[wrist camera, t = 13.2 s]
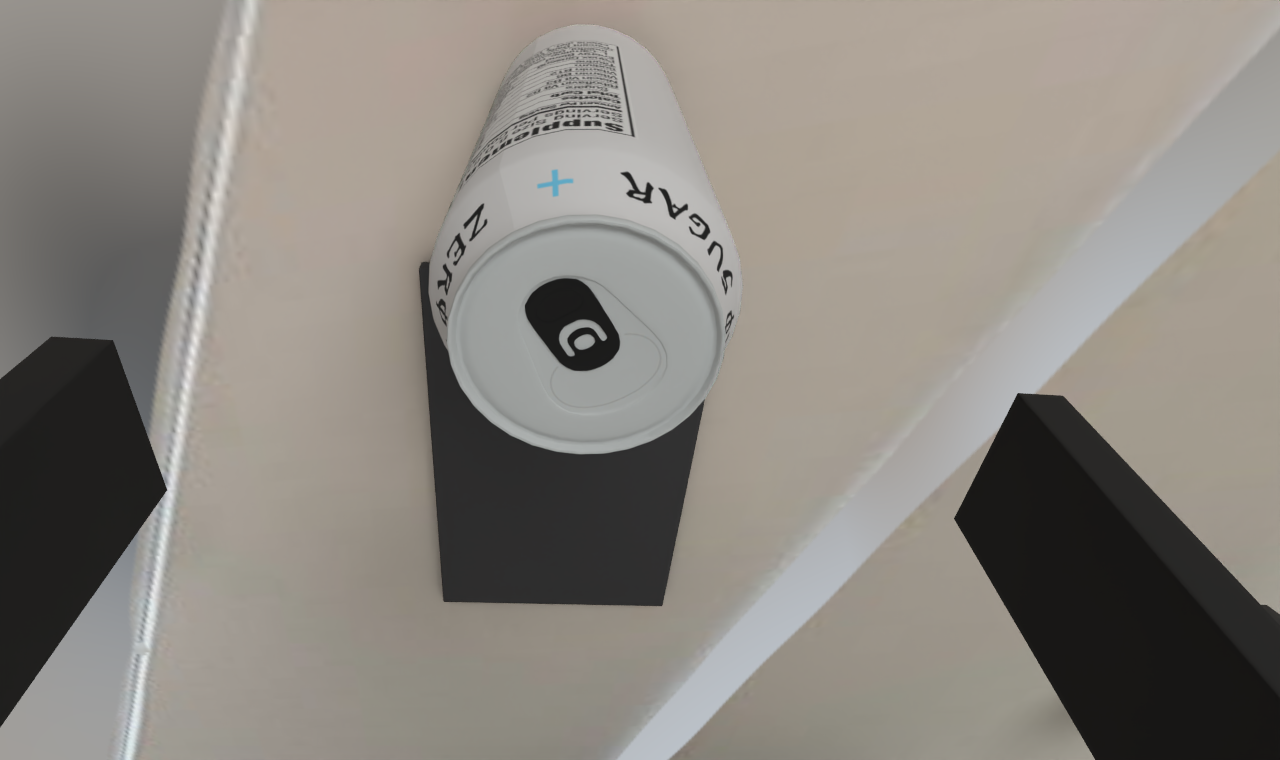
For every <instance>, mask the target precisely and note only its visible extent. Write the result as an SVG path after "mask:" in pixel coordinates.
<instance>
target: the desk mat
mask: <svg viewBox="0 0 1280 760" xmlns="http://www.w3.org/2000/svg"><path fill="white" fill-rule="evenodd" d="M429 266H430V263H429V262H422V263H421V266H420V268H419V275H420V288H421V302H422V316H423V329H424V343H425V356H426V370H427V383H428V397H429V410H430V424H431V437H432V451H433V465H434V478H435V492H436V505H437V519H438V532H439V546H440V559H441V573H442V586H443V600H444V602H483V603H535V604H586V605H637V606H662V605H663V600H664V595H665V590H666V585H667V580H668V575H669V571H670V566H671V561H672V556H673V551H674V546H675V541H676V537H677V532H678V527H679V522H680V517H681V512H682V508H683V503H684V498H685V493H686V488H687V483H688V478H689V474H690V469H691V464H692V459H693V454H694V449H695V444H696V440H697V435H698V430H699V425H700V420H701V415H702V410H703V406H704V401H705V399H704V400H703V401H702V403H701V404H700V405H699V406H698V407H697V408H696V409H695V411H694V412H693V413H692V414H691V415H690V416H689V417H688V418H686V419H685V420H684V421H683V422H681V423H680V424H679V425H677V426H676V427H675V428H674V429H672V430H671V431H669V432H667V433H665V434H663V435H662V436H660V437H658V438H656V439H654V440H652V441H650V442H647V443H644V444H642V445H639V446H636V447H633V448H630V449H626V450H621V451H615V452H610V453H604V454H573V453H564V452H556V451H552V450H549V449H545V448H541V447H537V446H534V445H531V444H529V443H527V442H524V441H522V440H520V439H518V438H515V437H513V436H511V435H509V434H508V433H506V432H505V431H503V430H502V429H500V428H499V427H497V426H496V425H494V424H493V423H491V422H490V421H489V420H488V419H487V418H486V417H485V416H484V415H483V414H482V413H481V412H480V411H479V410H478V409H477V408H476V407H475V406H474V405H473V404H472V403H471V401H470V400H469V398H468V397H467V395H466V394H465V393H464V391H463V390H462V388H461V387H460V385H459V383H458V380H457V378H456V376H455V373H454V371H453V369H452V366H451V363H450V357H449V352H448V350H447V348H446V347H445V345H444V343H443V340H442V338H441V336H440V333H439V331H438V329H437V326H436V324H435V322H434V319H433V314H432V308H431V303H430V298H429Z"/></svg>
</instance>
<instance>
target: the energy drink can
mask: <svg viewBox="0 0 1280 760" xmlns="http://www.w3.org/2000/svg"><path fill="white" fill-rule="evenodd" d="M742 289H743V281H742V273H741V265H740V257H739V254H738V252H737V249H736V246H735V243H734V240H733V237H732V235H731V232H730V229H729V227H728V224H727V222H726V219H725V217H724V215H723V212H722V210H721V207H720V205H719V202H718V200H717V197H716V195H715V193H714V190H713V188H712V185H711V183H710V180H709V178H708V175H707V173H706V170H705V168H704V166H703V163H702V161H701V158H700V156H699V153H698V151H697V148H696V146H695V144H694V141H693V139H692V136H691V134H690V131H689V129H688V126H687V124H686V122H685V119H684V117H683V114H682V112H681V109H680V107H679V104H678V102H677V100H676V97H675V95H674V92H673V90H672V87H671V85H670V82H669V80H668V78H667V76H666V74H665V73H664V71H663V69H662V68H661V66H660V64H659V63H658V61H657V60H656V59H655V58H654V57H653V56H652V55H651V54H650V52H649V51H648V50H647V49H646V48H645V47H644V46H642V45H641V44H639V43H638V42H637V41H635V40H634V39H633V38H631V37H630V36H628V35H625V34H623V33H621V32H619V31H617V30H614V29H612V28H607V27H603V26H598V25H571V26H566V27H562V28H557V29H555V30H552V31H550V32H548V33H546V34H544V35H542V36H540V37H538V38H537V39H536V40H534V41H533V42H532V43H530V44H529V45H528V46H526V47H525V48H524V49H523V50H522V51H521V53H520V54H519V55H518V56H517V57H516V59H515V60H514V61H513V62H512V64H511V66H510V68H509V69H508V71H507V73H506V75H505V77H504V79H503V81H502V84H501V86H500V88H499V91H498V93H497V95H496V98H495V100H494V103H493V105H492V107H491V110H490V112H489V114H488V117H487V119H486V122H485V124H484V126H483V129H482V131H481V133H480V136H479V138H478V141H477V143H476V145H475V148H474V150H473V153H472V155H471V157H470V160H469V162H468V164H467V167H466V169H465V172H464V174H463V176H462V179H461V181H460V183H459V186H458V188H457V191H456V193H455V195H454V198H453V200H452V202H451V205H450V207H449V210H448V212H447V214H446V217H445V219H444V222H443V224H442V226H441V229H440V231H439V233H438V236H437V239H436V243H435V246H434V250H433V254H432V257H431V261H430V266H429V298H430V303H431V308H432V314H433V319H434V322H435V324H436V326H437V329H438V331H439V333H440V336H441V338H442V340H443V343H444V345H445V347H446V348H447V350H448V352H449V357H450V363H451V366H452V369H453V371H454V373H455V376H456V378H457V380H458V383H459V385H460V387H461V388H462V390H463V391H464V393H465V394H466V395H467V397H468V398H469V400H470V401H471V403H472V404H473V405H474V406H475V407H476V408H477V409H478V410H479V411H480V412H481V413H482V414H483V415H484V416H485V417H486V418H487V419H488V420H489V421H490V422H491V423H493V424H494V425H496V426H497V427H499V428H500V429H502V430H503V431H505V432H506V433H508V434H509V435H511V436H513V437H515V438H518V439H520V440H522V441H524V442H527V443H529V444H531V445H534V446H537V447H541V448H545V449H549V450H552V451H556V452H564V453H573V454H604V453H610V452H615V451H621V450H626V449H630V448H633V447H636V446H639V445H642V444H644V443H647V442H650V441H652V440H654V439H656V438H658V437H660V436H662V435H663V434H665V433H667V432H669V431H671V430H672V429H674V428H675V427H676V426H677V425H679V424H680V423H681V422H683V421H684V420H685V419H686V418H688V417H689V416H690V415H691V414H692V413H693V412H694V411H695V409H696V408H697V407H698V406H699V405H700V404H701V403H702V401H703V400H704V399H705V398H706V396H707V395H708V393H709V391H710V389H711V388H712V386H713V384H714V382H715V381H716V379H717V376H718V373H719V370H720V367H721V364H722V361H723V358H724V350H725V348H726V347H727V345H728V343H729V341H730V340H731V338H732V335H733V332H734V329H735V326H736V323H737V320H738V317H739V314H740V309H741V299H742Z"/></svg>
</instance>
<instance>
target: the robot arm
mask: <svg viewBox="0 0 1280 760" xmlns="http://www.w3.org/2000/svg"><path fill="white" fill-rule="evenodd" d="M166 491H167V488H166V486H165V483H164V480H163V477H162V475H161V472H160V469H159V466H158V463H157V461H156V458H155V455H154V452H153V450H152V447H151V444H150V441H149V439H148V436H147V433H146V430H145V427H144V425H143V422H142V419H141V416H140V414H139V411H138V408H137V405H136V403H135V400H134V397H133V394H132V391H131V389H130V386H129V383H128V380H127V378H126V375H125V372H124V369H123V366H122V364H121V361H120V358H119V355H118V353H117V350H116V347H115V345H114V342H113V340H98V339H82V338H65V337H64V338H63V337H50V338H49V339H48V340H47V341H46V342H44V343H43V344H42V345H41V346H40V347H38V348H37V349H36V350H35V351H34V352H32V353H31V354H30V355H29V356H28V357H26V359H24V360H23V361H22V362H20V363H19V364H18V365H17V366H16V367H14V368H13V369H12V370H11V371H9V372H8V373H7V374H6V375H5V376H4V377H2V378H1V379H0V727H1V725H2V724H3V723H4V721H5V720H6V719H7V717H8V716H9V714H10V713H11V711H12V710H13V709H14V707H15V706H16V704H17V702H18V701H19V700H20V699H21V697H22V696H23V694H24V693H25V691H26V690H27V689H28V687H29V686H30V684H31V683H32V681H33V680H34V679H35V677H36V676H37V674H38V673H39V671H40V670H41V669H42V667H43V666H44V664H45V663H46V662H47V660H48V659H49V657H50V656H51V655H52V653H53V652H54V650H55V648H56V647H57V646H58V645H59V643H60V642H61V640H62V639H63V637H64V636H65V635H66V633H67V632H68V630H69V629H70V627H71V626H72V625H73V623H74V622H75V620H76V619H77V618H78V616H79V615H80V613H81V612H82V610H83V609H84V607H85V606H86V605H87V603H88V602H89V600H90V599H91V598H92V596H93V595H94V593H95V592H96V591H97V589H98V588H99V586H100V585H101V583H102V582H103V581H104V579H105V578H106V576H107V575H108V573H109V572H110V571H111V569H112V568H113V566H114V565H115V563H116V562H117V560H118V559H119V558H120V556H121V555H122V553H123V552H124V551H125V549H126V548H127V546H128V545H129V544H130V542H131V540H132V539H133V538H134V536H135V535H136V534H137V532H138V531H139V529H140V528H141V527H142V525H143V524H144V522H145V521H146V519H147V518H148V517H149V515H150V514H151V512H152V511H153V509H154V508H155V507H156V505H157V504H158V502H159V501H160V499H161V498H162V497H163V495H164V494H165V492H166ZM954 519H955V521H956V523H957V524H958V526H959V528H960V530H961V531H962V533H963V535H964V536H965V538H966V540H967V541H968V543H969V545H970V547H971V548H972V550H973V552H974V553H975V555H976V557H977V559H978V560H979V562H980V564H981V565H982V567H983V569H984V570H985V572H986V574H987V576H988V577H989V579H990V581H991V582H992V584H993V586H994V588H995V589H996V591H997V593H998V594H999V596H1000V598H1001V600H1002V601H1003V603H1004V605H1005V606H1006V608H1007V610H1008V611H1009V613H1010V615H1011V617H1012V618H1013V620H1014V622H1015V623H1016V625H1017V627H1018V629H1019V630H1020V632H1021V634H1022V635H1023V637H1024V639H1025V640H1026V642H1027V644H1028V646H1029V647H1030V649H1031V651H1032V652H1033V654H1034V656H1035V658H1036V659H1037V661H1038V663H1039V664H1040V666H1041V668H1042V669H1043V671H1044V673H1045V675H1046V676H1047V678H1048V680H1049V681H1050V683H1051V685H1052V687H1053V688H1054V690H1055V692H1056V693H1057V695H1058V697H1059V698H1060V700H1061V702H1062V704H1063V705H1064V707H1065V709H1066V710H1067V712H1068V714H1069V716H1070V717H1071V719H1072V721H1073V722H1074V724H1075V726H1076V728H1077V729H1078V731H1079V733H1080V734H1081V736H1082V738H1083V739H1084V741H1085V743H1086V745H1087V746H1088V748H1089V750H1090V751H1091V753H1092V755H1093V757H1094V758H1095V760H1280V614H1278V613H1277V612H1276V611H1274V610H1273V609H1271V608H1270V607H1269V606H1267V605H1260V604H1259V603H1258V602H1257V601H1256V599H1255V598H1254V597H1253V596H1252V595H1251V594H1250V593H1249V592H1248V591H1247V590H1246V589H1245V588H1244V587H1243V586H1242V585H1241V584H1240V583H1239V581H1238V580H1237V579H1236V578H1235V577H1234V576H1233V575H1232V574H1231V573H1230V572H1229V571H1228V570H1227V569H1226V568H1225V567H1224V566H1223V565H1222V563H1221V562H1220V561H1219V560H1218V559H1217V558H1216V557H1215V556H1214V555H1213V554H1212V553H1211V552H1210V551H1209V550H1208V549H1207V548H1206V547H1205V545H1204V544H1203V543H1202V542H1201V541H1200V540H1199V539H1198V538H1197V537H1196V536H1195V535H1194V534H1193V533H1192V532H1191V531H1190V530H1189V529H1188V528H1187V526H1186V525H1185V524H1184V523H1183V522H1182V521H1181V520H1180V519H1179V518H1178V517H1177V516H1176V515H1175V514H1174V513H1173V512H1172V511H1171V510H1170V508H1169V507H1168V506H1167V505H1166V504H1165V503H1164V502H1163V501H1162V500H1161V499H1160V498H1159V497H1158V496H1157V495H1156V494H1155V493H1154V492H1153V490H1152V489H1151V488H1150V487H1149V486H1148V485H1147V484H1146V483H1145V482H1144V481H1143V480H1142V479H1141V478H1140V477H1139V476H1138V475H1137V474H1136V472H1135V471H1134V470H1133V469H1132V468H1131V467H1130V466H1129V465H1128V464H1127V463H1126V462H1125V461H1124V460H1123V459H1122V458H1121V457H1120V456H1119V455H1118V453H1117V452H1116V451H1115V450H1114V449H1113V448H1112V447H1111V446H1110V445H1109V444H1108V443H1107V442H1106V441H1105V440H1104V439H1103V438H1102V437H1101V435H1100V434H1099V433H1098V432H1097V431H1096V430H1095V429H1094V428H1093V427H1092V426H1091V425H1090V424H1089V423H1088V422H1087V421H1086V420H1085V419H1084V417H1083V416H1082V415H1081V414H1080V413H1079V412H1078V411H1077V410H1076V409H1075V408H1074V407H1073V406H1072V405H1071V404H1070V403H1069V402H1068V401H1067V399H1066V398H1065V397H1064V396H1056V395H1039V394H1021V393H1018V394H1017V396H1016V398H1015V400H1014V402H1013V404H1012V406H1011V408H1010V410H1009V412H1008V414H1007V416H1006V418H1005V420H1004V422H1003V423H1002V425H1001V427H1000V429H999V431H998V433H997V435H996V437H995V439H994V441H993V443H992V445H991V447H990V449H989V451H988V453H987V455H986V457H985V459H984V461H983V463H982V465H981V467H980V469H979V471H978V473H977V475H976V477H975V479H974V481H973V483H972V485H971V487H970V488H969V490H968V492H967V494H966V496H965V498H964V500H963V502H962V504H961V506H960V508H959V510H958V512H957V514H956V516H955V518H954Z"/></svg>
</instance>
